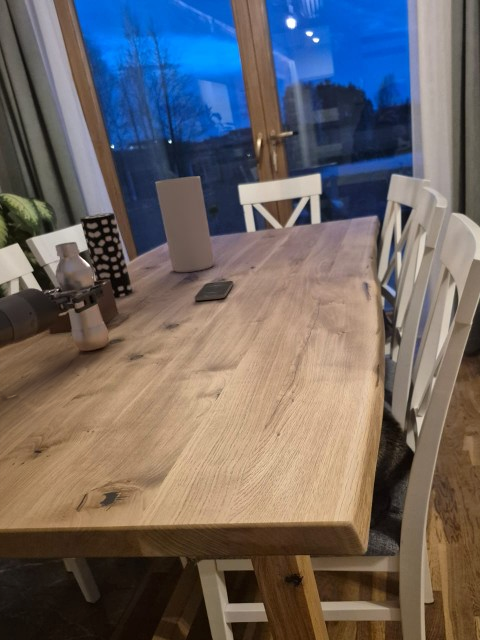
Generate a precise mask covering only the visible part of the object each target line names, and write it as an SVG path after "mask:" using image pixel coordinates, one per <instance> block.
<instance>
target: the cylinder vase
mask: <svg viewBox="0 0 480 640" xmlns="http://www.w3.org/2000/svg"><path fill="white" fill-rule="evenodd" d="M154 183H155V188H156V193H157V198H158V204H159V208H160V213H161V219H162V222H163V228H164V232H165V236H166V243H167V249H168V253H169V256H170V257H169V258H170V263H171V268H172V270H173V271H174V272H176V273H192V272H200V271H204V270H207V269H210V268H212V267H213V266H214V265H215V258H214V251H213V246H212V239H211V235H210V229H209V221H208V218H207V210H206V205H205V204H206V203H205V197H204V192H203V187H202V181H201V176H199V175H198V176H196V175H195V176H186V177H177V178H169V179H164V180H159V181H155V182H154Z"/></svg>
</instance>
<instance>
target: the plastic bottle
mask: <svg viewBox="0 0 480 640" xmlns="http://www.w3.org/2000/svg"><path fill="white" fill-rule="evenodd" d="M55 250H56V256H57V257H59V261H58V264H57V265H56V269H55V279H56V283H57V284H58V286H59V287H60V289H61V291H62V292H65V291H69V290H76V291H80V290H84V289H88V288H90V287H93V286H94V281H95V279H94V277H95V276H94V270H93V267H92V266H91V265H90V264H89V263H88V262H87V261H86V260H85V259H84V258H82V257H81V256H80V252H81V251H80V249H79V246H78V243H77V241H70V242H63V243H58V244H56V245H55ZM68 296H69V297H70V300H71V302H72V295H68ZM69 316H70V321H71V327H72V332H71V339H72V342H73V343H74V346H75V347H76V348H77V350H79V351H81V352H89V351H95V350H97V349H98V350H99V349H101V348H104V347H106V346H107V345H108V343H109V341H110V336H109V330H108V328H107V324H106V325H105V323H104V322H103V319H102V316H101V313H100V310H99V307H98V304H96V305H94V306H92V307H90V308H88V309H86V310H85V311H83V312H81V313H75V311H71V312H69Z"/></svg>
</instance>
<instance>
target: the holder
mask: <svg viewBox="0 0 480 640" xmlns="http://www.w3.org/2000/svg"><path fill="white" fill-rule="evenodd" d="M95 285H102V286H103V290H104V296H102V297H100V298H98V299H97V302H98V307H99V310H100V313H101V316H102V319H103V322H104V323H105V325H106V326H107V324H108V323H110V322H111V320H112V319H114V318H115V317H116V316H117V315H118V314H119V310H118V305H117V302H116V298H114V294H113V290H112V286H111V282H110V279H108V280H98V281H96V280H94V286H95ZM54 289H60V287H59V285H57V286H55V288H54ZM48 331H49V334H51V335H52V334H60V333H69V332H70V333H72V327H71V321H70V316H69V312H67V313H66V314H65V315H62V316H57V317H56V321H55V324H54V326H53V327H52V328H51V329H49V330H48Z"/></svg>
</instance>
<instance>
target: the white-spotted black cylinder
mask: <svg viewBox="0 0 480 640" xmlns="http://www.w3.org/2000/svg"><path fill="white" fill-rule="evenodd" d="M79 220H80V224H81V228H82V231H83V236H84V240H85V243H86V247H87V250H88V255H89V258H90V262H91V267H92V270H93V275H94V277H95V281H98V280H108V279H110V282H111V286H112V290H113V294H114V298H115V299H117V298H122V297H126V296H129V295H130V294H132V293H133V287H132V282H131V279H130V274H129V270H128V266H127V262H126V258H125V253H124V249H123V245H122V240H121V237H120V233H119V228H118V223H117V219H116V215H115V213H114V212H107V213H98V214H92V215H85V216H82V217H80V218H79Z"/></svg>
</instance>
